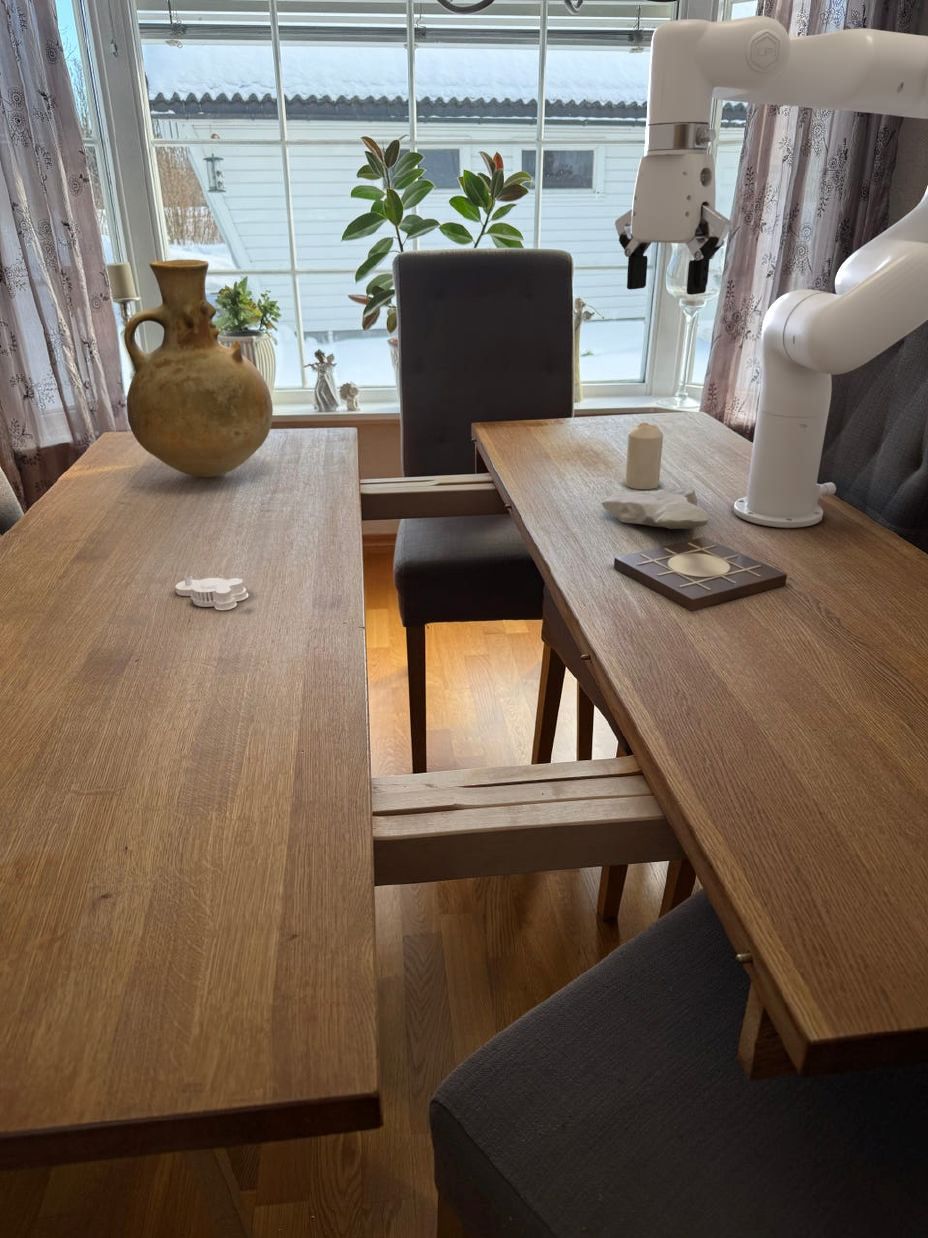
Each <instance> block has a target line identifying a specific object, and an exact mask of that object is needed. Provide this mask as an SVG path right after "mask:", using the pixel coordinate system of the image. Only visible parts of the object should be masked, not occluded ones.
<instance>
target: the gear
mask: <svg viewBox="0 0 928 1238" xmlns="http://www.w3.org/2000/svg"><path fill="white" fill-rule="evenodd" d="M175 591H176V594H177V595H178V596H183V597H190V598H191V600H192V602H193V604H194V605H195V606H197V607H201V608H202V607H203V608H210V607H211V608H212V607H214V609H215V610H217V611H230V610H233V609H234V608H236V607H237V605H238V603H237V602H241V601H245V600H246V599H248V598H249V595H250V594H249V592H247V588H246V587H245V585H244V580H243V579H242V578H241V577H240V578H239V577H234V578H229V579H225V578H221V577H207V578H203V579H202V578H201V579H193V576H192V574H185V575H183V580H182V581H179V582H178V583H176V584H175Z"/></svg>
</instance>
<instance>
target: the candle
mask: <svg viewBox="0 0 928 1238" xmlns="http://www.w3.org/2000/svg"><path fill="white" fill-rule="evenodd" d="M663 441H664V433H663V432H662V431H661V430H660V428H659V427H658V425H657V424H652V425H651V424H649V423H648V422H640V423H639V424H637V426H635V427H633V428H632V429H631V430H630V431H628V433H627V448H626V449H627V450H626V461H625V462H626V465H625V477H624V478H625V479H624V481H625V482H624V485H625V486H627V487H628V488H631V489H635V490H653V489H656V488H658V487H659V486H660V477H661V465H662V452H663Z"/></svg>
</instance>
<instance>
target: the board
mask: <svg viewBox="0 0 928 1238" xmlns="http://www.w3.org/2000/svg"><path fill="white" fill-rule="evenodd" d="M613 558H614V560H613V569H614V570H616V571H618V572H621V573H622V574H623V575H626V576H628V577H629V578H631V579H634V580H635V581H636V582H638V583H640V584H642V585H644V586H646V587H647V588H648V589H650V590H653V591H655V592H656V593H658V594H660V595H662V596H663V597H665V598H667V599H669V600H670V601H672V602H674V603H676V604H679V605H680V606H681V607H683V608H685V609H687V610H689V611H690V612H694V611H697V610H700V609H704V608H708V607H710V606H711V607H712V606H715V605H718V604H722V603H725V602H729V601H732V600H736V599H741V598H743V597H747V596H751V595H755V594H759V593H762V592H766V591H769V590H773V589H776V588H780V587H784V586H786V583H787V577H788V573H786V572H783V571H781V570H779V569H777V568H774V567H772V566H769V565H768V564H766V563H763V562H761V561H758V560H756V559H754V558H752V557H750V556H747V555H745V554H743V553H740V552H739V551H736V550H734V549H732V548H729V547H727V546H725V545H723V544H721V543H719V542H717V541H714V540H712V539H709V538H707V537H705V536H702V537H697V538H693V539H689V540H685V541H680V542H676V543H671V544H667V545H663V546H658V547H655V548H650V549H646V550H645V549H644V550H642V551H636V552H633V553H632V552H631V553H627V554H623V555H620V556H616V557H613Z"/></svg>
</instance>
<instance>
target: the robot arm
mask: <svg viewBox="0 0 928 1238" xmlns="http://www.w3.org/2000/svg"><path fill="white" fill-rule="evenodd" d="M649 63H650V64H649V79H648V91H647V109H646V124H645V125H646V126H645V128H646V129H645V142H644V143H645V144H644V146H645V147H644V155H643V156H641V157H640V160H639V164H638V168H637V173H636V178H635V184H634V191H633V199H632V205H631V209H630V210H629V211H627V212H626V213H624V214H622V215H621V216H620V217H619V218H617V219H616V220H615V221H614V226H615V228H616V231H617V235H618V242H619V244H620V246H621V247H622V249H623V250H624V252H623V254H624V256H625V257H626V258H628V260H627V273H626V274H627V277H626V288H627V290H631V291H632V290H640V289H644V288H646V287H647V275H648V262H649V261H648V259H649V258H648V255H644V254H645V253H646V252H647V250H649V247H650V246H651V244H653V243H655V244H658V243H660V244H686V246H687V248H688V250H689V252H690V254H691V255H692V257H693V259H690V260H689V262H688V268H687V269H688V270H687V280H686V294H687V295H692V296H693V295H699V294H705V293H706V291H707V285H708V281H709V272H710V271H709V270H710V260H713V259H714V257H715V256H716V253H717V252H718V251H719V250H720V249H721V247H722V246H723V245H724V242H725V239H726V238H727V235H728V233H729V232H730V229H731V227H732V224H733V223H732V221H731V220H730V219H728V218H727V217H725V216H724V215H723V214H721V213H720V212H719V211H717V210H716V199H717V198H716V195H717V194H716V193H717V190H716V188H717V187H716V186H717V185H716V183H717V182H716V170H715V169H716V168H715V159H714V154H713V153H708V149H709V143H713V142H714V141H715V140H716V138H717V137H716V136H717V133H716V132H717V131H716V130H715V129H714V128H713V129H712V128H711V124H710V123H711V115H712V104H713V103H712V102H713V99H715V100H721V101H728V102H729V101H730V102H738V103H746V104H756V105H757V104H758V105H770V106H784V107H785V106H787V107H799V108H807V109H814V110H825V111H826V110H827V111H829V110H830V111H831V110H833V111H835V110H836V111H847V112H858V113H870V114H877V115H878V114H879V115H887V116H895V117H904V118H911V119H912V118H914V119H925V120H928V35H921V34H918V35H917V34H913V33H904V32H897V31H896V32H895V31H890V30H889V31H888V30H880V29H874V28H865V27H864V28H863V27H861V28H848V29H841V30H835V31H830V32H826V33H820V34H813V35H801V36H799V35H798V36H789V33H788V31H787V29H786V28H785V27H784V26H783V24H782V23H781V22H780V21H778V20H776V19H774V18H772V17H769V16H765V15H753V16H752V15H751V16H745V17H740V18H735V19H728V20H717V21H709V20H706V19H699V18H697V19H696V18H695V19H694V18H692V19H691V18H688V19H687V18H686V19H676V20H670V21H666V22H664V23H662V24H659V26H657V27H656V28H655V30H654V31H653V34H652V37H651V45H650V60H649ZM835 275H836V276H835V279H834V290H835V293H832V292H829V291H823V290H817V289H811V288H802V289H795V290H791V291H789V292H786V293H785V294H783V295H781V296H780V297H779V298H777V299H776V300H775V301H774V302H773V303H772V304H771V305H770V307H769V309H768V310H767V312H766V314H765V316H764V318H763V322H762V325H761V333H760V352H761V353H760V356H761V375H760V376H761V377H760V387H759V397H758V404H757V411H756V419H755V426H754V435H753V444H752V450H751V457H750V465H749V473H748V481H747V487H746V495H745V496H742V497H741V498H738V499H737V500H735V502H734V503H733V512H734V514H735V515H736V516H737V517H739V518H740V519H742V520H744V521H746V522H749V523H753V524H756V525H760V526H766V527H769V528H770V527H773V528H780V529H781V528H784V529H791V528H792V529H795V528H796V529H797V528H805V527H810V526H813V525H816V524H818V523H819V522H821V521H822V520H823V517H824V510H823V508H822V506H820V505H819V504H818V501H819V500H820V499H822V497H823V498H824V497H828V496H832V495H835V493H836V492H837V487H836V484H835V483H834V482H832V481H831V482H825V483H821V484H820V483H818V478H819V472H820V466H821V461H822V460H821V459H822V455H823V447H824V442H825V437H826V430H827V422H828V418H829V417H828V416H829V413H830V406H831V400H832V390H833V389H832V388H833V387H832V385H833V384H832V382H833V381H832V375H833V376H834V375H843V374H847V373H849V372H851V371H854V370H856V369H859V368H860V367H862V366H863V365H865V364H867V363H869V362H870V361H872V360H873V359H874V358H876V357H877V356H879V355H880V354H881V353H883V352H884V351H886V350H887V349H889V348H891V347H892V346H893V345H895V344H896V343H897V342H899V341H900V340H903V338H904V337H906V336H908V335H909V334H911V332H913V331H914V330H916V329H918V328H919V327H920V326H922V325H923V324H924V323H926V321H928V186H927V187H926V190H925V193H924V195H923V197H922V198H921V200H920V202H919V203H918V204H917V205H916V206H915V207H914V208H913V209H912V210H911V211H910V212H908V213H907V214H906V215H904V217H902V218H901V219H899V220H898V221H897V222H896V223H894V224H892V225H891V226H890V227H888V228H887V229H886V230H884V231H883V232H881V233H880V234H879V235H877V236H876V237H874V238H873V239H872V240H871V239H870V241H868V242H867V243H865V244H864V245H862V246H860V248H859V249H857V250H856V251H854V252H853V253H852V254H851V255H849V256H848V257H847V258H846V259H845V261H844V262H843V263H842V264H841V266H840V267H839V269H838V271H837V273H836V274H835Z"/></svg>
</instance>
